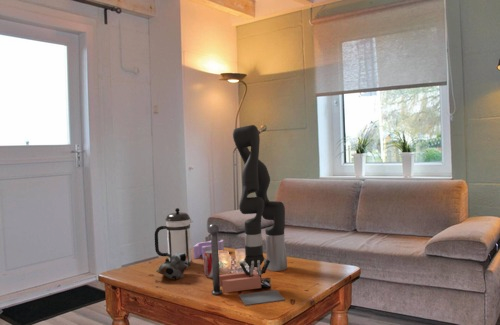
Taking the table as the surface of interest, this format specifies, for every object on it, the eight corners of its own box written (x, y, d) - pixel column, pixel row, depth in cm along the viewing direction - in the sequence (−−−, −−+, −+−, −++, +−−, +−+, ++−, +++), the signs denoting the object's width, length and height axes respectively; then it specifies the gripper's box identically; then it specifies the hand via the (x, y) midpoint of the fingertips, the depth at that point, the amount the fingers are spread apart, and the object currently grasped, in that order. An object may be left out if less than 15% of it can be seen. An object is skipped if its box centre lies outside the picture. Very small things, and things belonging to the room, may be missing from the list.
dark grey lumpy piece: (163, 272, 216) (175, 246, 218) (184, 283, 213) (196, 256, 215) (151, 272, 202) (164, 244, 204) (174, 284, 199) (187, 255, 201)
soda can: (217, 278, 202) (216, 253, 202) (202, 278, 204) (201, 253, 203) (221, 274, 209) (220, 249, 209) (207, 274, 211) (206, 249, 210)
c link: (255, 280, 191) (254, 270, 191) (261, 287, 182) (260, 277, 181) (219, 285, 188) (218, 274, 188) (223, 292, 178) (222, 281, 178)
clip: (212, 250, 260) (211, 238, 260) (229, 252, 253) (228, 240, 253) (190, 258, 244) (189, 246, 243) (207, 260, 237) (206, 248, 237)
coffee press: (181, 258, 242) (178, 205, 241) (200, 263, 231) (197, 207, 230) (155, 266, 230) (152, 209, 229) (173, 271, 219) (170, 211, 218)
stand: (221, 291, 185) (217, 222, 183) (223, 294, 180) (219, 224, 179) (210, 292, 183) (207, 223, 182) (212, 295, 179) (209, 225, 178)
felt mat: (275, 290, 182) (275, 289, 182) (285, 300, 170) (284, 299, 170) (238, 295, 178) (238, 294, 178) (245, 305, 166) (245, 304, 166)
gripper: (267, 240, 191) (268, 279, 191) (236, 243, 188) (238, 283, 188) (271, 244, 183) (273, 284, 184) (239, 247, 180) (241, 288, 181)
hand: (255, 283), depth 186 cm, fingers closed on c link, 2 cm apart
